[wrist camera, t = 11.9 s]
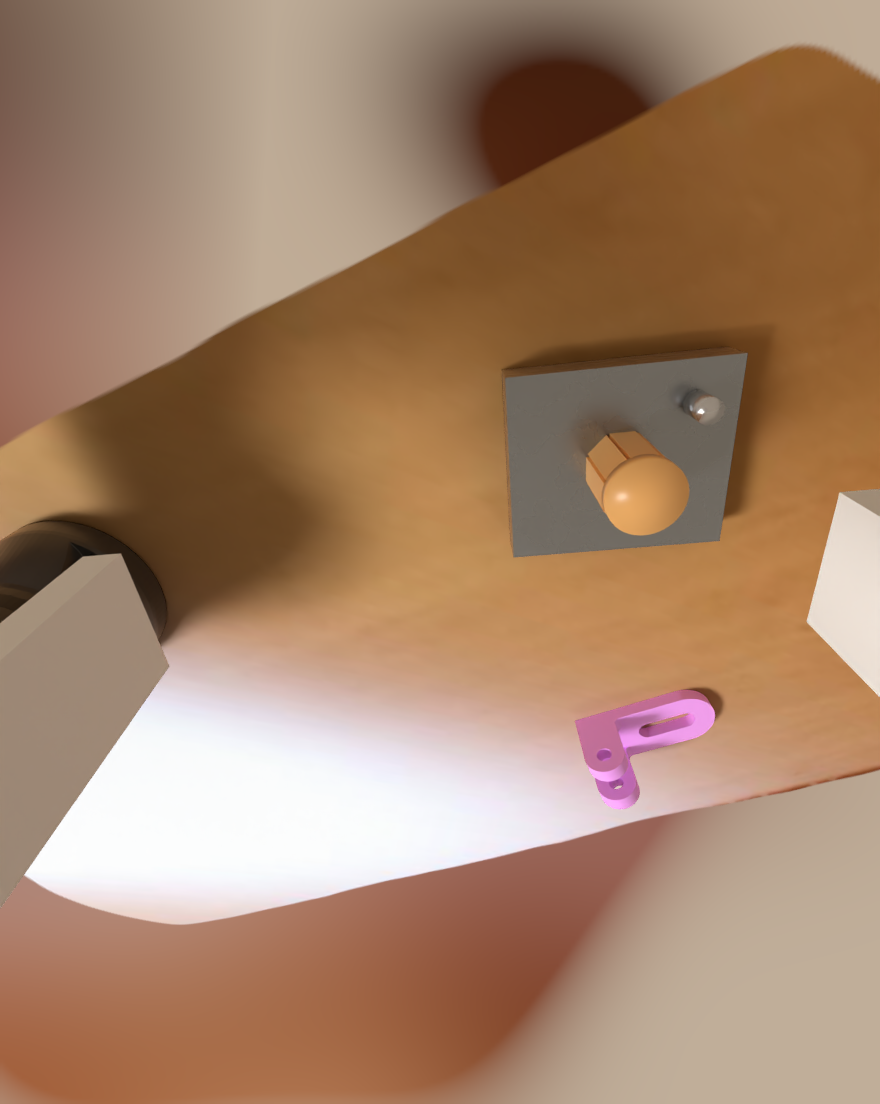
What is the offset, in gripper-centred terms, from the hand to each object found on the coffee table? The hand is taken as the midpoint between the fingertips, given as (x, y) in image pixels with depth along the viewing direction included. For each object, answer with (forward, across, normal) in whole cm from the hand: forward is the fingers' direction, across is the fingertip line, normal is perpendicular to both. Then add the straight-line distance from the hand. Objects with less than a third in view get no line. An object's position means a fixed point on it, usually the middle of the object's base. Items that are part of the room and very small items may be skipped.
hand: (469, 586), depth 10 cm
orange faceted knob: (+30, +11, -9) cm, 33 cm away
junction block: (+33, +11, -9) cm, 36 cm away
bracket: (+33, +16, -38) cm, 53 cm away
